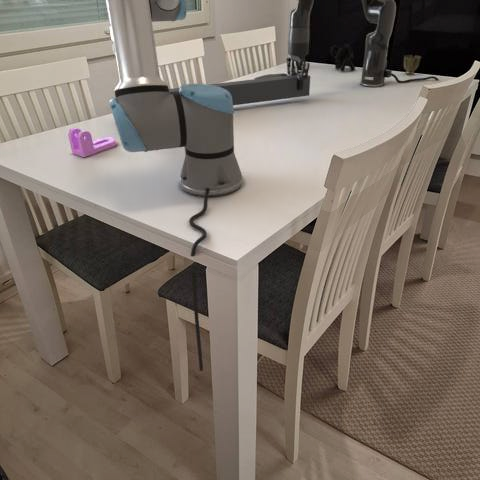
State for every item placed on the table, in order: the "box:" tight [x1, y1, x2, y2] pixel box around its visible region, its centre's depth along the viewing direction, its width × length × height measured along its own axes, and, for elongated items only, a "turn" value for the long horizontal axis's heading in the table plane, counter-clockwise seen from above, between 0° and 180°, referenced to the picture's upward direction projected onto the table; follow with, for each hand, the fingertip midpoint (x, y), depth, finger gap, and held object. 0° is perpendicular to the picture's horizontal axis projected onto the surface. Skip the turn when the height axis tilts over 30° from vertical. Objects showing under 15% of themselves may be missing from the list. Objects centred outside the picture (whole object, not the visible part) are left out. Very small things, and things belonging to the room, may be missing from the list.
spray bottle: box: [253, 71, 289, 79], centre depth 201 cm, size 3×11×24 cm
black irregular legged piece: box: [330, 43, 356, 72], centre depth 219 cm, size 11×10×15 cm
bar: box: [169, 73, 311, 107], centre depth 161 cm, size 72×5×7 cm, turn 112°
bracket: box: [67, 127, 117, 158], centre depth 130 cm, size 13×6×7 cm, turn 143°
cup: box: [403, 54, 422, 76], centre depth 208 cm, size 8×7×8 cm
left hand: (134, 114), depth 153 cm, fingers closed on bar, 5 cm apart
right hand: (296, 88), depth 171 cm, fingers closed on bar, 5 cm apart
